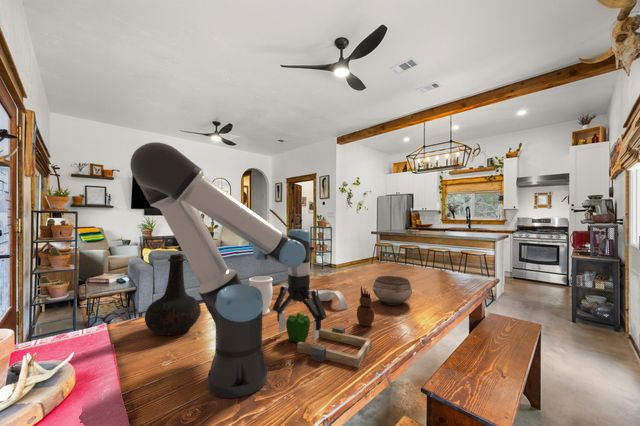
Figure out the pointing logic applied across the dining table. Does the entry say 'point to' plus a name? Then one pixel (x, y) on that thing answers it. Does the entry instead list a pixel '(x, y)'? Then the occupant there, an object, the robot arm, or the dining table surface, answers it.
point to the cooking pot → (392, 289)
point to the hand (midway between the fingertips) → (298, 335)
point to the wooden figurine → (365, 309)
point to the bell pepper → (298, 327)
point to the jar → (263, 290)
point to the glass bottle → (173, 304)
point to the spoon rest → (327, 295)
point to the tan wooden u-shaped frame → (340, 357)
